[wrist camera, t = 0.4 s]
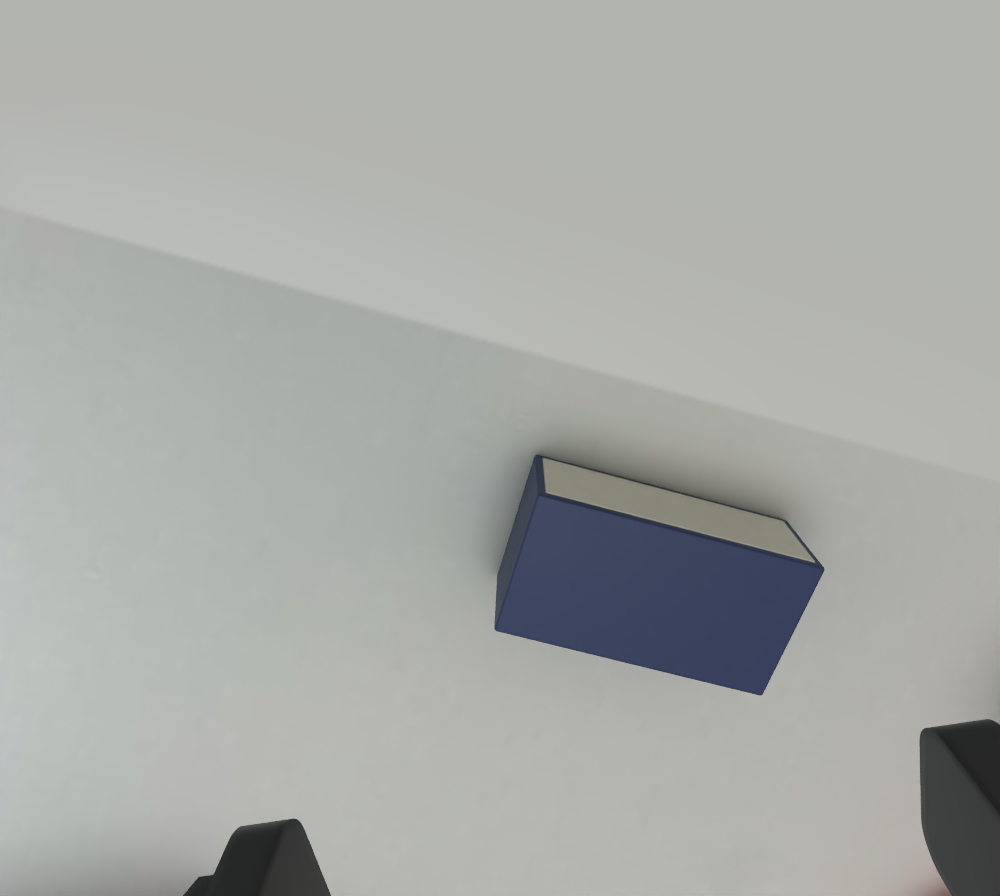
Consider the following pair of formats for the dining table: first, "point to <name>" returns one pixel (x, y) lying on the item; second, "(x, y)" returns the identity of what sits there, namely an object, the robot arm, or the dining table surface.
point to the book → (652, 577)
